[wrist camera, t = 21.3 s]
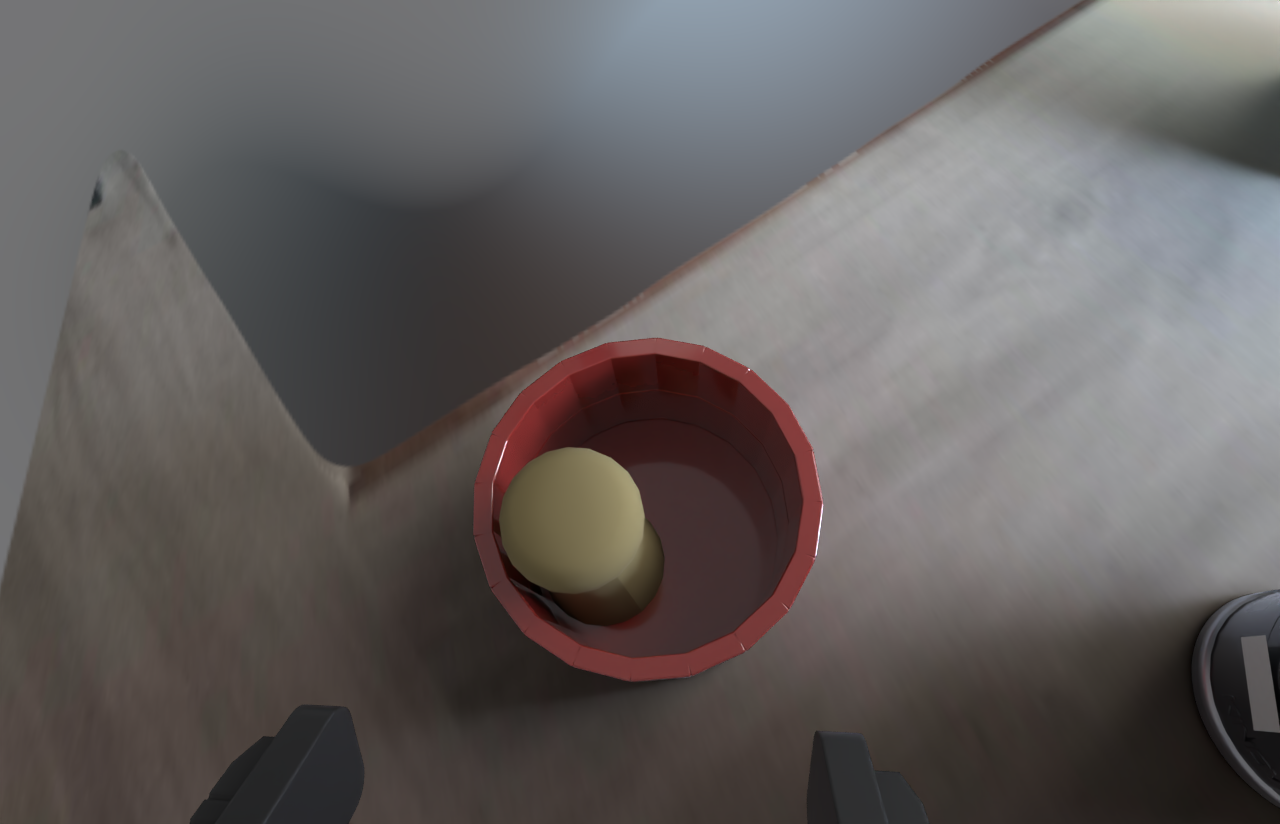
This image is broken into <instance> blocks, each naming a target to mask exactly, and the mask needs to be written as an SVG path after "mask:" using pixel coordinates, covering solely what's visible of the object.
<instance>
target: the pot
mask: <svg viewBox="0 0 1280 824" xmlns="http://www.w3.org/2000/svg"><path fill="white" fill-rule="evenodd" d="M566 447H573V448H587V449H591V450H593V451H596V452H598V453H601V454H603V455H606V456H608V457H610V458H612V459H613V460H614V461H616V462H617V463H618V464H619V465H620V466H622V467H623V468H624V469H625V470H626V471H627V472H628V473H629V474H630V476H631V478H632V479H633V481H634V483H635V484H636V486H637V488H638V489H639V492H640V496H641V501H642V505H643V510H644V514H645V518H646V519H647V520H649V521H650V522H651V524H652V526H653V527H654V529H655V530H656V532H657V534H658V535H659V537H660V539H661V543H662V548H663V552H664V556H665V560H664V572H663V579H662V581H661V583H660V586H659V588H658V591H657V593H656V595H655V597H654V598H653V599H652V600H651V601H650V603H649V604H648V605H647V606H646V607H645V608H644V610H643V611H642V612H640V613H638V614H637V615H635V616H634V617H632V618H630V619H629V620H627V621H625V622H622V623H617V624H613V625H609V626H598V625H588V624H584V623H582V622H580V621H578V620H576V619H574V618H571V617H569V616H568V615H567V614H566V613H565V612H564V611H562V610H561V609H560V608H559V607H558V606H557V605H556V604H555V603H554V601H553V599H552V597H551V595H550V593H549V591H548V590H547V589H545V588H543V587H541V586H539V585H537V584H534V583H532V582H530V581H529V580H528V579H526V578H525V577H524V576H523V575H522V574H521V573H520V572H519V571H518V570H517V569H516V568H515V567H514V566H513V565H512V563H511V561H510V559H509V557H508V555H507V553H506V551H505V549H504V547H503V545H502V538H501V531H500V523H499V516H500V511H501V505H502V500H503V496H504V494H505V492H506V491H507V489H508V487H509V485H510V483H511V481H512V479H513V478H514V477H515V476H516V474H517V473H518V472H519V471H520V470H521V469H522V468H523V467H524V466H525V465H526V464H527V463H528V462H530V461H532V460H533V459H535V458H537V457H539V456H541V455H542V454H544V453H546V452H548V451H553V450H557V449H562V448H566ZM822 512H823V497H822V492H821V487H820V482H819V476H818V471H817V466H816V461H815V456H814V452H813V448H812V446H811V444H810V442H809V441H808V439H807V437H806V435H805V433H804V432H803V430H802V428H801V426H800V424H799V423H798V421H797V419H796V417H795V415H794V414H793V412H792V410H791V408H790V406H789V405H788V404H787V403H786V402H785V401H784V400H783V399H782V398H781V397H780V396H779V395H778V394H777V393H776V392H775V391H774V390H773V389H772V388H770V387H769V386H768V385H767V384H766V383H765V382H764V381H763V380H762V379H761V378H760V377H759V376H758V375H757V374H756V373H755V372H754V371H752V370H750V369H749V368H748V367H746V366H744V365H742V364H740V363H738V362H736V361H734V360H732V359H730V358H728V357H726V356H723V355H721V354H719V353H717V352H715V351H713V350H711V349H709V348H707V347H706V348H705V346H701V345H696V344H690V343H684V342H679V341H673V340H667V339H662V338H649V339H639V340H629V341H620V342H610V343H607V344H606V343H605V344H603V345H600V346H598V347H595V348H593V349H590V350H588V351H585V352H583V353H580V354H578V355H575V356H573V357H570V358H568V359H565V360H563V361H561V362H559V363H558V364H557V365H555V366H554V367H553V368H551V369H550V370H549V371H548V372H546V373H545V374H544V375H542V376H541V377H540V378H539V379H537V380H536V381H535V382H533V383H532V384H531V385H530V386H528V387H527V388H526V389H524V390H523V391H522V392H521V393H520V394H519V395H518V397H517V398H516V400H515V401H514V402H513V404H512V405H511V406H510V408H509V409H508V411H507V412H506V413H505V415H504V416H503V418H502V419H501V420H500V422H499V423H498V425H497V426H496V427H495V429H494V430H493V431H492V435H491V436H490V438H489V441H488V444H487V447H486V450H485V453H484V456H483V459H482V462H481V465H480V468H479V471H478V474H477V477H476V480H475V484H474V520H473V535H474V536H475V537H474V540H475V543H476V546H477V550H478V553H479V556H480V559H481V562H482V565H483V569H484V572H485V575H486V578H487V581H488V584H489V587H490V588H491V591H492V592H493V594H494V595H495V596H496V598H497V599H498V600H499V602H500V603H501V605H502V606H503V607H504V609H505V610H506V611H507V613H508V614H509V615H510V617H511V618H512V619H513V621H514V622H515V623H516V625H517V626H518V627H519V629H520V630H521V631H522V632H523V633H524V635H525V636H527V637H528V638H530V639H531V640H533V641H534V642H536V643H537V644H539V645H540V646H542V647H543V648H544V649H546V650H547V651H549V652H550V653H552V654H553V655H555V656H556V657H558V658H559V659H561V660H562V661H564V662H565V663H567V664H568V665H570V666H573V667H574V668H578V669H582V670H585V671H589V672H593V673H597V674H601V675H605V676H609V677H612V678H616V679H620V680H624V681H628V682H630V681H631V682H645V681H657V680H668V679H680V678H689V677H693V676H695V675H697V674H699V673H702V672H704V671H706V670H708V669H710V668H713V667H715V666H717V665H719V664H721V663H724V662H726V661H728V660H730V659H732V658H734V657H736V656H738V655H740V654H743V653H744V652H746V651H748V650H749V649H750V648H751V647H752V646H753V645H754V644H755V643H756V642H757V641H758V640H759V639H760V638H761V637H762V636H763V635H764V634H765V633H767V632H768V631H769V630H770V629H771V628H772V627H773V626H774V625H775V624H776V623H777V622H778V621H779V620H780V619H781V618H782V617H783V616H784V615H785V614H786V613H787V612H788V611H789V609H790V608H791V607H792V605H793V603H794V601H795V599H796V597H797V595H798V593H799V591H800V589H801V587H802V585H803V583H804V581H805V579H806V577H807V575H808V573H809V571H810V569H811V567H812V565H813V563H814V562H815V558H816V556H817V548H818V541H819V534H820V527H821V519H822Z"/></svg>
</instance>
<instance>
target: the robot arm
mask: <svg viewBox="0 0 1280 824" xmlns="http://www.w3.org/2000/svg"><path fill="white" fill-rule="evenodd" d="M1192 684H1193V690H1194V695H1195V699H1196V703H1197V707H1198V710H1199V713H1200V715H1201V718H1202V720H1203V723H1204V725H1205V727H1206V729H1207V731H1208V733H1209V735H1210V737H1211V738H1212V740H1213V742H1214V743H1215V745H1216V747H1217V748H1218V750H1219V751H1220V753H1221V754H1222V755H1223V757H1224V758H1225V759H1226V761H1227V762H1228V763H1229V764H1230V766H1231V767H1232V768H1233V769H1234V770H1235V771H1236V773H1237V774H1238V775H1239V776H1240V777H1241V778H1242V779H1243V780H1244V781H1245V782H1246V783H1247V784H1248V785H1250V786H1251V787H1252V788H1253V789H1254V790H1255V791H1256V792H1258V793H1259V794H1260V795H1262V796H1263V797H1264V798H1265V799H1267V800H1268V801H1269V802H1271V803H1273V804H1274V805H1276V806H1277V807H1279V808H1280V590H1273V591H1266V592H1260V593H1254V594H1249V595H1246V596H1242V597H1239V598H1237V599H1235V600H1232V601H1231V602H1229V603H1227V604H1225V605H1224V606H1222V607H1221V608H1220V609H1218V610H1217V611H1216V612H1215V613H1214V614H1213V615H1212V616H1211V617H1210V618H1209V619H1208V621H1207V622H1206V623H1205V625H1204V626H1203V628H1202V630H1201V632H1200V634H1199V636H1198V638H1197V641H1196V644H1195V648H1194V652H1193V658H1192ZM363 784H364V765H363V761H362V757H361V753H360V749H359V745H358V741H357V737H356V733H355V729H354V725H353V721H352V717H351V714H350V711H349V710H348V709H347V708H346V707H341V706H323V705H301V706H299V707H297V708H296V709H295V710H294V711H293V712H292V714H291V715H290V716H289V718H288V719H287V721H286V722H285V724H284V725H283V726H282V728H281V729H280V731H279V732H278V734H277V735H276V736H275V737H266V736H263V737H262V738H261V739H260V740H258V741H257V742H256V743H255V744H254V745H252V746H251V747H250V748H249V749H248V750H246V751H245V752H244V753H243V754H242V755H240V756H239V757H238V758H237V759H236V760H234V761H233V762H232V763H231V765H230V766H229V767H228V769H227V770H226V771H225V773H224V774H223V776H222V777H221V778H220V780H219V781H218V782H217V784H216V785H215V786H214V788H213V789H212V790H211V792H210V793H209V794H210V795H209V798H208V799H207V800H204V801H203V803H202V804H201V805H200V807H199V808H198V809H197V811H196V812H195V813H194V815H193V816H192V818H191V819H190V824H348V823H349V821H350V819H351V817H352V816H353V814H354V812H355V810H356V807H357V805H358V803H359V800H360V797H361V793H362V789H363ZM807 820H808V824H930V823H929V820H928V817H927V814H926V812H925V809H924V806H923V803H922V802H921V800H920V799H919V798H918V797H917V795H916V794H915V793H914V791H913V790H912V789H911V787H910V786H909V785H908V783H907V782H906V781H905V779H904V778H903V777H902V775H901V774H900V773H899V772H889V771H874V769H873V765H872V761H871V758H870V754H869V751H868V747H867V744H866V741H865V738H864V736H863V735H862V734H861V733H847V732H829V731H816V732H815V735H814V741H813V749H812V757H811V765H810V774H809V782H808V790H807Z"/></svg>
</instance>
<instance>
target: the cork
mask: <svg viewBox="0 0 1280 824" xmlns="http://www.w3.org/2000/svg"><path fill="white" fill-rule="evenodd" d="M499 523H500V531H501V538H502V545H503V547H504V549H505V551H506V553H507V555H508V557H509V559H510V561H511V563H512V565H513V566H514V567H515V568H516V569H517V570H518V571H519V572H520V573H521V574H522V575H523V576H524V577H525V578H526V579H528V580H529V581H530V582H532V583H534V584H537V585H539V586H541V587H543V588H545V589H547V590H548V591H549V593H550V595H551V597H552V599H553V601H554V603H555V604H556V605H557V606H558V607H559V608H560V609H561V610H562V611H564V612H565V613H566V614H567V615H568V616H569V617H571V618H574V619H576V620H578V621H580V622H582V623H584V624H588V625H598V626H609V625H613V624H617V623H622V622H625V621H627V620H629V619H630V618H632V617H634V616H635V615H637V614H638V613H640V612H642V611H643V610H644V608H645V607H646V606H647V605H648V604H649V603H650V601H651V600H652V599H653V598H654V597H655V595H656V593H657V591H658V588H659V586H660V583H661V581H662V579H663V572H664V560H665V556H664V552H663V548H662V543H661V539H660V537H659V535H658V534H657V532H656V530H655V529H654V527H653V526H652V524H651V522H650V521H649V520H647V519H646V518H645V514H644V510H643V505H642V501H641V496H640V492H639V489H638V488H637V486H636V484H635V483H634V481H633V479H632V478H631V476H630V474H629V473H628V472H627V471H626V470H625V469H624V468H623V467H622V466H620V465H619V464H618V463H617V462H616V461H614V460H613V459H612V458H610V457H608V456H606V455H603V454H601V453H598V452H596V451H593V450H591V449H587V448H573V447H566V448H562V449H557V450H553V451H548V452H546V453H544V454H542V455H541V456H539V457H537V458H535V459H533V460H532V461H530V462H528V463H527V464H526V465H525V466H524V467H523V468H522V469H521V470H520V471H519V472H518V473H517V474H516V476H515V477H514V478H513V479H512V481H511V483H510V485H509V487H508V489H507V491H506V492H505V494H504V496H503V500H502V505H501V511H500V516H499Z"/></svg>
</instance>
